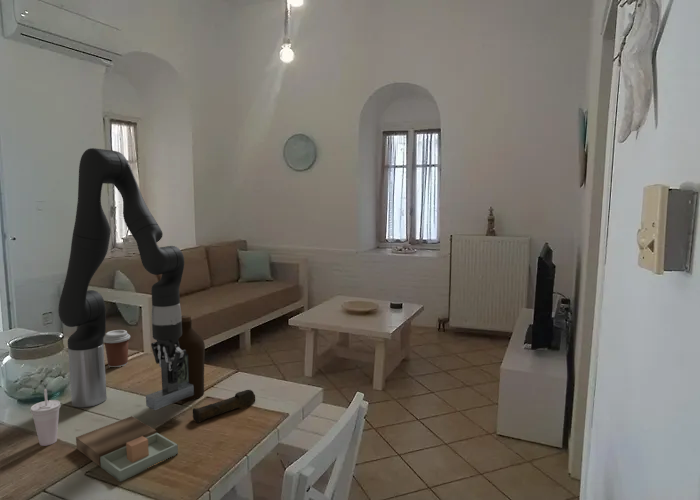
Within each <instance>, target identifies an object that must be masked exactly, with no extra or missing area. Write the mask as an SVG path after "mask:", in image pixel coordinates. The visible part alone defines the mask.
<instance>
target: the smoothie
mask: <svg viewBox="0 0 700 500" xmlns="http://www.w3.org/2000/svg"><path fill="white" fill-rule="evenodd" d="M43 393H44V394H43V396H44V401H40V402H37V403H35V404H33V405H32V406H30V411H29V412H30V413H29V414H31V415H32V418H33V422H34V427H35V430H36V431H35V432H36V434H37V438H38V443H39V445H40V446H42V447H44V446H50V445H53V444H55V443H56V442H57V441H58V430H59V429H58V428H59V417H60V408H61V406H62V405H61V401H59V400H58V399H49V400H48V389H47V388H45V389H43Z"/></svg>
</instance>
